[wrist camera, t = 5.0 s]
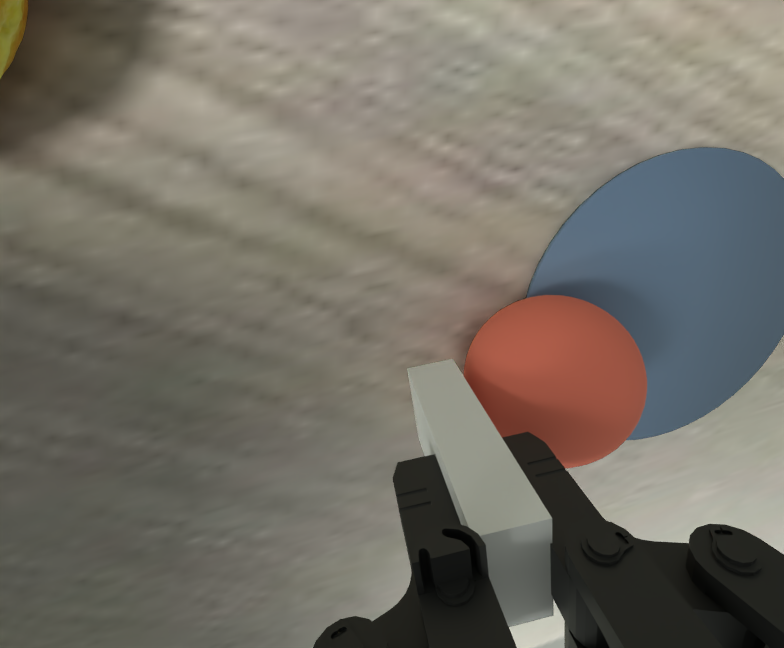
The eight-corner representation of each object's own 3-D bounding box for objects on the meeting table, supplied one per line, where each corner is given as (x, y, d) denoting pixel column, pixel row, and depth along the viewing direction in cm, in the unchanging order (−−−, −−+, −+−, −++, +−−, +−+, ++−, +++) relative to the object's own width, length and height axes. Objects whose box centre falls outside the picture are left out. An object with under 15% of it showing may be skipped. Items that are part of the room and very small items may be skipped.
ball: (542, 539, 13) (648, 451, 15) (592, 408, 9) (717, 324, 12) (427, 419, 16) (527, 365, 19) (434, 296, 13) (554, 250, 16)
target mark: (563, 478, 20) (566, 482, 19) (478, 240, 15) (480, 241, 15) (805, 364, 20) (810, 366, 19) (798, 86, 15) (804, 85, 15)
